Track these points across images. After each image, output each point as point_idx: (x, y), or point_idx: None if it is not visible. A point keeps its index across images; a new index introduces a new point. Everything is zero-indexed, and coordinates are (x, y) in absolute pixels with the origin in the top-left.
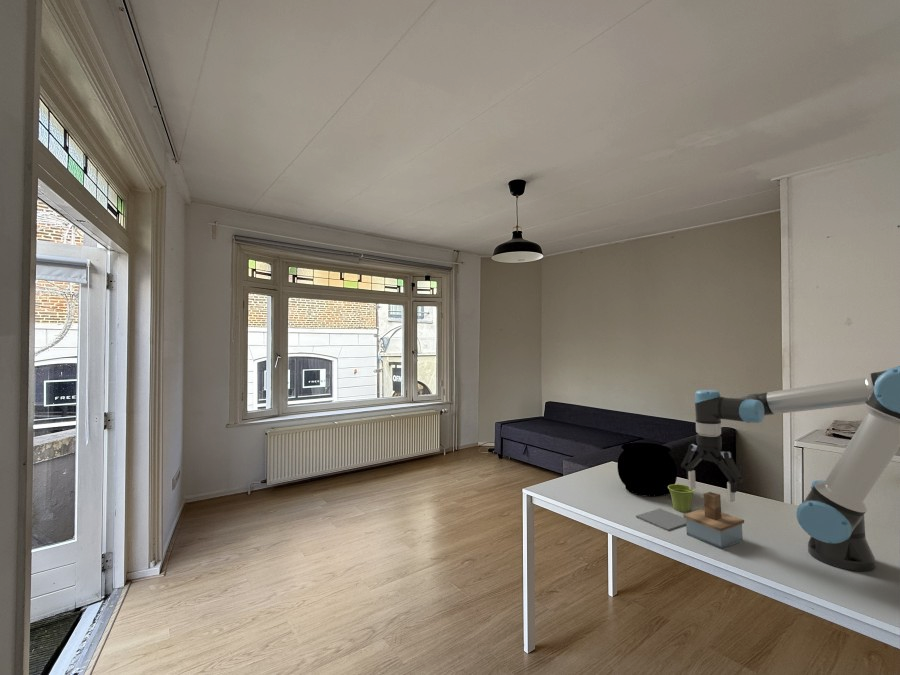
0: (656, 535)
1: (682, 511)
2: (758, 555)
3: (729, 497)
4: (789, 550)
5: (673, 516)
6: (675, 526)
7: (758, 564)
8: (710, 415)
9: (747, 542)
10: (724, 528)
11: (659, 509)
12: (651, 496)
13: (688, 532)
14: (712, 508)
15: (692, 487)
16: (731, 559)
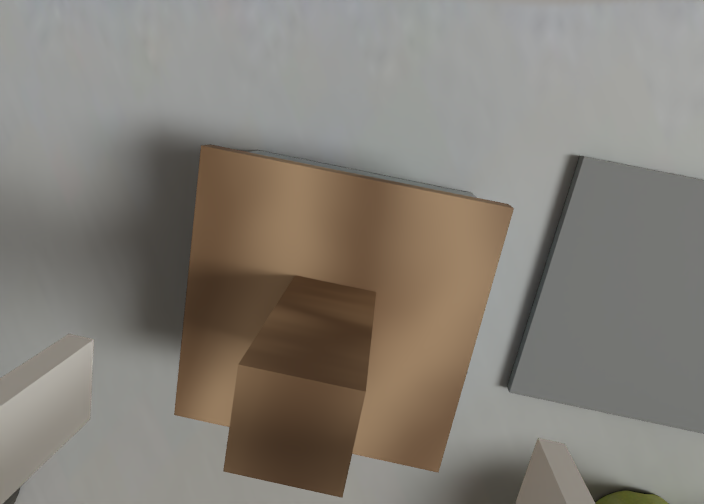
0: (618, 22)
1: (611, 494)
2: (113, 222)
3: (33, 361)
4: None
5: (628, 379)
6: (562, 237)
7: (67, 114)
8: None
9: None
10: (199, 189)
11: None
12: None
13: (461, 193)
14: (293, 311)
15: (534, 482)
16: (170, 60)
